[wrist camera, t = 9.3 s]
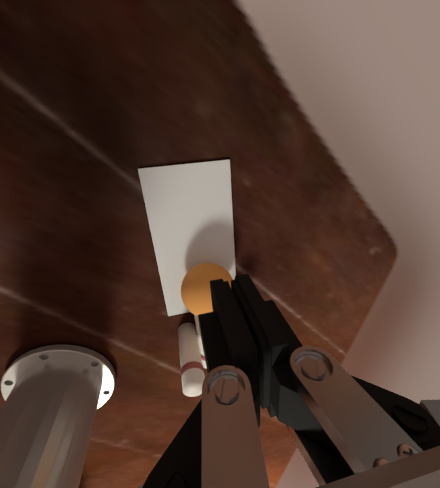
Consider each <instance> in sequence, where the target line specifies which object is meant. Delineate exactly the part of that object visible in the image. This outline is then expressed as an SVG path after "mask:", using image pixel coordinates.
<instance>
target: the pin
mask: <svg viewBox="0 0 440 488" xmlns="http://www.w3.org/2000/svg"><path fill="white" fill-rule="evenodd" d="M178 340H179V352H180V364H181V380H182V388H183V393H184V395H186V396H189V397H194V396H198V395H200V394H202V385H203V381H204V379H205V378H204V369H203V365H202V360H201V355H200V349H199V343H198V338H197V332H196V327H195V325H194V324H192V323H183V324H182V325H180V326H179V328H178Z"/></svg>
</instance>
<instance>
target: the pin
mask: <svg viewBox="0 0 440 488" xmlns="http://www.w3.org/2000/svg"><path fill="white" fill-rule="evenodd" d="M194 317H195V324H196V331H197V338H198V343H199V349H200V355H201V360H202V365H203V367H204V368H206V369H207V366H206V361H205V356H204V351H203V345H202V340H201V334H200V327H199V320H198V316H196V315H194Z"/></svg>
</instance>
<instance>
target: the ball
mask: <svg viewBox="0 0 440 488" xmlns="http://www.w3.org/2000/svg"><path fill="white" fill-rule="evenodd" d="M217 279H223V281H228V282H229V285H230V287H231V280H233V279H232V277H231V275H230V274H229V272H228V271H227V270H226V269H224V268H223V267H222V266H220V265H217V264H214V263H203V264H199V265H197V266H195V267H193V268H192V269H190V270H189V271H188V272H187V274H186V275H185V277H184V279H183V281H182V285H181V297H182V301H183V303H184V305H185V306H186V308H187V309H188V310H189V311H190V312H191V313H192V314H194V315H196V316H198V315H199V314H204V313H209V312H213V309H212V299H211V290H210V281H211V280H217Z"/></svg>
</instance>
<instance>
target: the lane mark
mask: <svg viewBox="0 0 440 488" xmlns="http://www.w3.org/2000/svg"><path fill="white" fill-rule="evenodd" d="M138 172H139V177H140V182H141V187H142V192H143V197H144V201H145V206H146V211H147V216H148V221H149V225H150V230H151V235H152V240H153V245H154V250H155V254H156V259H157V264H158V269H159V274H160V278H161V283H162V288H163V293H164V298H165V303H166V307H167V312H168V316H172V315H177V314H182V313H187V312H190V311H189V310H188V309H187V308H186V306H185V305H184V303H183V301H182V297H181V285H182V281H183V279H184V277H185V275H186V274H187V272H188V271H189V270H190V269H192V268H193V267H195V266H197V265H199V264H203V263H214V264H217V265H220V266H222V267H223V268H224V269H226V270H227V271H228V272H229V274H230V275H231V277H232V279H233V280H235V276H236V270H235V251H234V231H233V212H232V193H231V173H230V159H228V160H218V161H209V162H199V163H189V164H179V165H169V166H160V167H150V168H140V169H138Z"/></svg>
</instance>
